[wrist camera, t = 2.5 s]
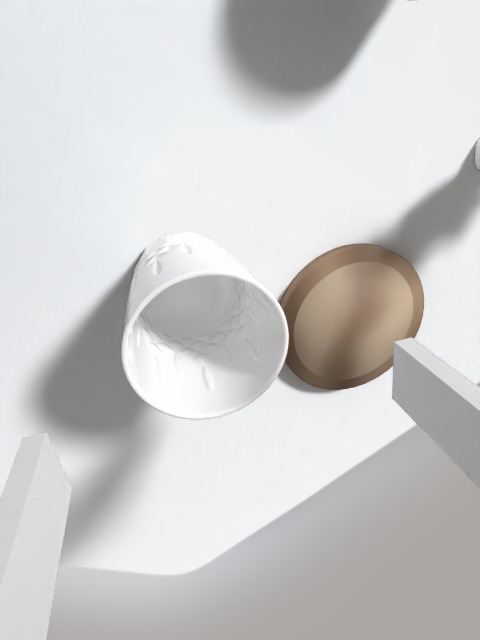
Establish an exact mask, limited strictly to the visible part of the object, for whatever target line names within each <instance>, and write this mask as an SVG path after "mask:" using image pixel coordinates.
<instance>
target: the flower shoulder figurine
mask: <svg viewBox="0 0 480 640" xmlns="http://www.w3.org/2000/svg"><path fill="white" fill-rule="evenodd" d="M475 165H476V167H477V168H478V169H479V170H480V138H479V139H478V141H477V143H476V147H475Z"/></svg>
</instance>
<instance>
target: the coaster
mask: <svg viewBox="0 0 480 640" xmlns="http://www.w3.org/2000/svg"><path fill="white" fill-rule="evenodd" d="M280 306H281V308H282V310H283V312H284V315H285V317H286V321H287V325H288V332H289V343H288V350H287V355H286V358H285V361H286V363H287V364H288V366H289V367H290V368H291V370H292V371H293V372H294V373H295V374H296V375H297V376H298V377H299V378H300V379H301V380H303V381H304V382H306V383H308V384H310V385H312V386H315V387H318V388H322V389H329V390H340V389H348V388H353V387H356V386H359V385H362V384H365V383H367V382H369V381H372V380H373V379H375V378H377V377H379V376H380V375H382V374H383V373H384V372H386V371H387V370H389V369H390V368H391V367H392V366H393V360H394V342H395V341H399V340H403V339H407V338H411V337H412V338H415V336H416V334H417V332H418V329H419V327H420V324H421V320H422V316H423V310H424V293H423V288H422V284H421V281H420V279H419V276H418V274H417V273H416V271H415V270H414V268H413V267H412V266H411V265H410V264H409V263H408V262H407V261H406V260H405V259H404V258H402V257H401V256H399V255H397V254H395V253H393V252H391V251H389V250H387V249H385V248H383V247H379V246H376V245H371V244H351V245H345V246H342V247H338V248H335V249H333V250H331V251H328V252H326V253H324V254H322V255H321V256H319V257H317V258H316V259H314V260H313V261H312V262H310V263H309V264H308V265H307V266H306V267H305V268H304V269H302V270H301V271H300V272H299V274H298V275H297V276H296V277H295V278H294V279H293V281H292V282H291V284H290V285H289V287H288V288H287V290H286V292H285V294H284V296H283V298H282V300H281V303H280Z"/></svg>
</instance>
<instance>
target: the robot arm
mask: <svg viewBox="0 0 480 640" xmlns="http://www.w3.org/2000/svg"><path fill="white" fill-rule="evenodd" d="M392 399H393V400H394V401H395V402H396V403H397V404H398V405H399V406H400V407H401V408H402V409H403V410H404V411H405V412H406V413H407V414H408V415H409V416H410V417H411V418H412V419H413V420H414V421H415V422H416V423H417V424H418V425H419V426H420V427H421V428H422V429H423V431H424V432H425V433H427V435H428V436H429V437H430V438H431V439H432V440H433V441H434V442H435V443H436V444H437V445H438V446H439V447H440V448H441V449H442V450H443V451H444V452H445V453H446V454H447V455H448V456H449V457H450V458H451V459H452V460H453V461H454V462H455V464H457V466H458V467H459V468H461V470H462V471H463V472H464V473H465V474H466V475H467V476H468V477H469V478H470V479H471V480H472V481H473V482H474V483H475V484H476V485H477V486H478V487H479V488H480V387H479V386H477V385H476V384H475V383H473V382H472V381H470V380H469V379H468V378H466V377H465V376H464V375H462V374H461V373H460V372H458V371H457V370H456V369H454V368H453V367H452V366H450V365H449V364H447V363H446V362H445V361H443V360H442V359H441V358H439V357H438V356H437V355H435V354H434V353H433V352H431V351H430V350H429V349H427V348H426V347H424V346H423V345H422V344H420V343H419V342H418V341H416V340H415V339H414V338H412V337H411V338H407V339H403V340H399V341H395V342H394V360H393V387H392ZM71 493H72V486H71V484H70V482H69V480H68V478H67V476H66V473H65V471H64V469H63V467H62V465H61V463H60V461H59V458H58V456H57V454H56V452H55V450H54V448H53V446H52V444H51V441H50V439H49V437H48V435H47V433H46V432H44V433H40V434H36V435H32V436H28V437H24V438H23V439H22V441H21V444H20V447H19V449H18V452H17V455H16V458H15V460H14V463H13V466H12V469H11V471H10V474H9V477H8V480H7V482H6V485H5V488H4V491H3V493H2V496H1V499H0V640H46V636H47V630H48V625H49V619H50V613H51V608H52V602H53V596H54V591H55V585H56V578H57V573H58V568H59V562H60V556H61V550H62V545H63V539H64V533H65V527H66V522H67V516H68V510H69V504H70V499H71Z"/></svg>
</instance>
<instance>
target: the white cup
mask: <svg viewBox="0 0 480 640" xmlns="http://www.w3.org/2000/svg"><path fill="white" fill-rule="evenodd" d="M288 343H289V332H288V325H287V321H286V317H285V315H284V312H283V310H282V308H281V306H280V304H279V303H278V301H277V300H276V299H275V297H274V296H273V295H272V294H271V293H270V292H269V291H268V290H267V289H266V288H265V287H264V286H263V285H262V284H261V283H260V282H259V281H258V280H257V279H256V278H255V277H254V276H253V275H252V274H251V273H250V272H249V271H247V270H246V269H245V268H244V267H243V266H242V265H241V264H240V263H239V262H238V261H237V260H236V259H235V258H234V257H232V256H231V255H230V254H229V253H228V252H227V251H225V250H223V249H222V248H220V247H219V246H217V245H216V244H215V243H214V242H213V241H212V240H211V239H210V238H206V237H203V236H200V235H197V234H194V233H190V232H184V233H177V234H170V235H165V236H163V237H162V238H160V239H159V240H157V241H156V242H154V243H153V244H151V245H150V246H148V247H147V248H146V249H145V250H144V252H143V254H142V256H141V257H140V259H139V261H138V263H137V265H136V266H135V268H134V276H133V279H132V282H131V286H130V291H129V296H128V301H127V307H126V315H125V323H124V331H123V338H122V345H121V358H122V365H123V369H124V372H125V375H126V378H127V380H128V382H129V384H130V385H131V387H132V388H133V390H134V391H135V392H136V394H137V395H138V396H139V397H140V398H141V399H142V400H143V401H145V402H146V403H147V404H148V405H150V406H151V407H153V408H155V409H156V410H158V411H160V412H162V413H165V414H167V415H170V416H174V417H178V418H184V419H210V418H216V417H220V416H224V415H227V414H230V413H233V412H235V411H237V410H240V409H241V408H243V407H245V406H247V405H248V404H250V403H252V402H253V401H254V400H256V399H257V398H258V397H259V396H261V395H262V394H263V393H264V392H265V391H266V390H267V389H268V388H269V387H270V385H271V384H272V383H273V382H274V380H275V379H276V377H277V376H278V374H279V372H280V370H281V368H282V366H283V364H284V361H285V358H286V355H287V350H288Z"/></svg>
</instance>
